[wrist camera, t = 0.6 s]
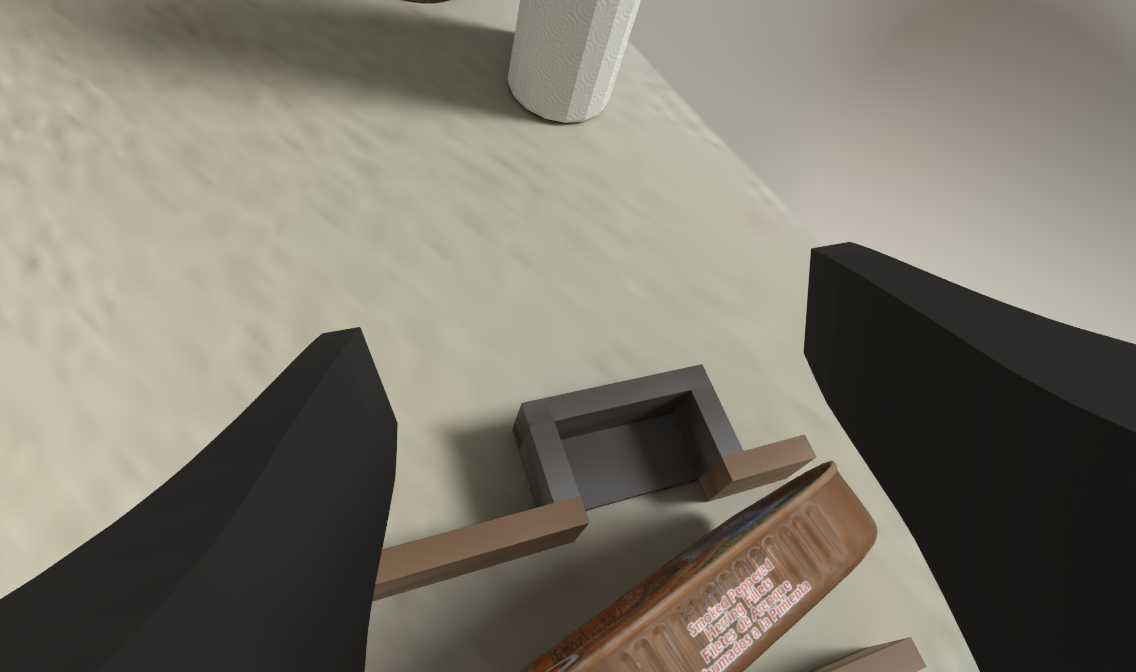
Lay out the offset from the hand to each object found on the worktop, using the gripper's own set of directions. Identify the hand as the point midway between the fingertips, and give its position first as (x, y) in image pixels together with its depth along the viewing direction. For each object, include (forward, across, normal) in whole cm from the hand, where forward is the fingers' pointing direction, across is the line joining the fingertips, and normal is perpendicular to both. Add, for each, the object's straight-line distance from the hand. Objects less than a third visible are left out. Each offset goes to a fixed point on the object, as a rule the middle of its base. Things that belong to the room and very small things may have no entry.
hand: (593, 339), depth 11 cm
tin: (+5, 0, +17) cm, 18 cm away
